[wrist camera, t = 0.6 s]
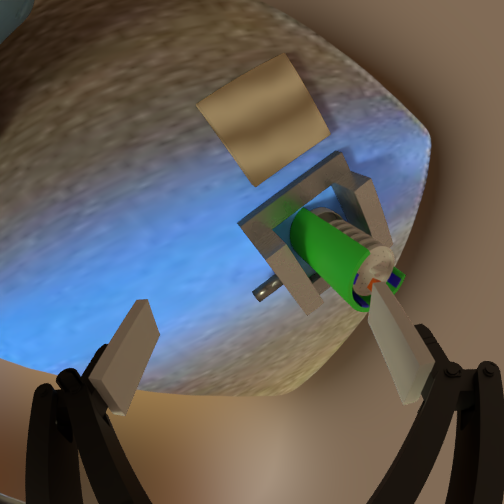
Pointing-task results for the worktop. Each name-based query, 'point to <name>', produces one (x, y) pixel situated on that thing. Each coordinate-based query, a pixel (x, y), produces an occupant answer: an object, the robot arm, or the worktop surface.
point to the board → (265, 118)
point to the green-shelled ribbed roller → (344, 255)
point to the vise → (293, 198)
